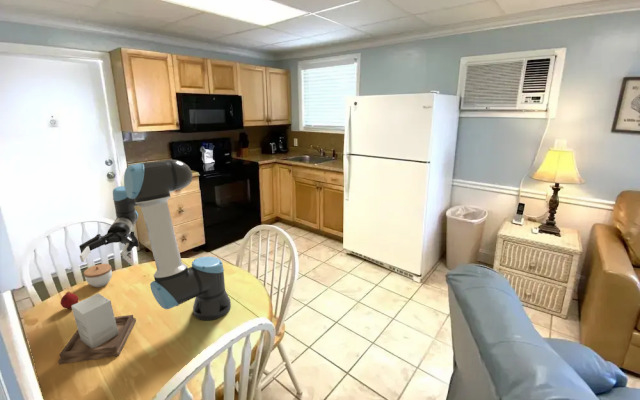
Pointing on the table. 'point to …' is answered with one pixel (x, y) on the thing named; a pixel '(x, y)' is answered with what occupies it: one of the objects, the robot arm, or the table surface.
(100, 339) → the supplement box
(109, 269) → the lidded jar
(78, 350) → the walnut stand
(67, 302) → the onion
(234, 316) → the table surface
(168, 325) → the table surface
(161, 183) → the robot arm
